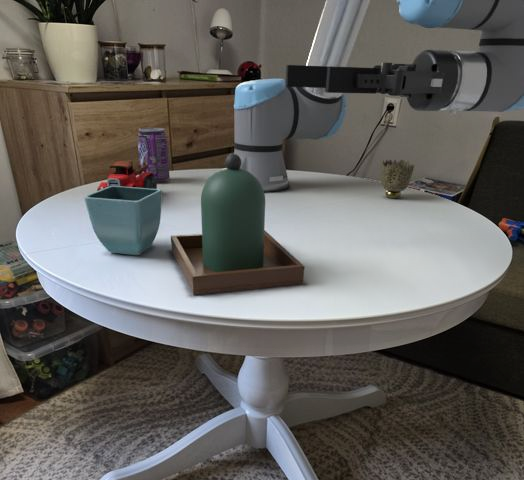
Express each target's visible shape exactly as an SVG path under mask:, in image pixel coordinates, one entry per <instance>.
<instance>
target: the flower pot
mask: <svg viewBox="0 0 524 480" xmlns="http://www.w3.org/2000/svg"><path fill="white" fill-rule="evenodd" d="M83 199H84V202H85V206H86V210H87V213H88V217H89V220H90V224H91V227H92V229H93V232H94V234H95V236H96V237H97V240H98V241H99V242H100V243H101V245H102V246H103V247H104V248H105V249H106V251H108V252H109V253H113V254H123V255H131V256H139V255H141V254H142V253H144V252H145V251H146V250H148V249H149V248H151V247H152V245H153V244H154V241H155V240H156V237H157V234H158V232H159V228H160V224H161V217H162V216H161V215H162V199H163V190H162V189H159V188H157V189H149V188H136V187H123V186H110V187H107V188H104V189H102V190H99V191H97V190H96V191H93V192H92V193H89V194H87V195H85V196H83Z"/></svg>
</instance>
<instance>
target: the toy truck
mask: <svg viewBox="0 0 524 480" xmlns="http://www.w3.org/2000/svg"><path fill="white" fill-rule="evenodd" d="M143 166H144V167H142V168H141V165H140V164H138V166H137V168H138V169H137V170H136V168H135V167H134V163H133V161H128V160H117V161H115V162H114V163H113V164H111V165H109V167H108V168H109V175H108V177H107V179H106V181H101V182H100V184H99V186H98V187H97V190H96V192H97V191H99V190H102V189H104V188H107V187H110V186H123V187H136V188H149V189H158V188H157V187H158V183H157V182H156V178H155V176H154V174H153V173H152V172H146V169H148V165H146V162H143ZM111 169H115V172H113V173H112V170H111ZM143 171H144V172H143ZM142 172H143V173H142ZM141 173H142V174H141Z"/></svg>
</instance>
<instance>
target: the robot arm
mask: <svg viewBox="0 0 524 480" xmlns="http://www.w3.org/2000/svg"><path fill="white" fill-rule="evenodd" d="M370 3H371V0H325V3H324V6H323V9H322V12H321V15H320V19H319V22H318V25H317V29H316V32H315V35H314V39H313V41H312V46H311V49H310V52H309V55H308V59H307V61H306V65H301V64H299V65H298V64H286V67H285V68H286V69H285V79H284V78H267V79H266V78H262V79H255V80H249V81H244V82H241V83H239V84H238V85H237V86H236V87H235V90H234V102H233V103H234V104H233V109H234V112H233V114H234V116H233V117H234V118H233V119H234V120H233V121H234V122H233V123H234V126H233V127H234V128H233V129H234V149H233V150H234V152H233V154H236V155H238V156H239V157H240V159H241V167H240V168H241V169H244V170H246V171H248V172H250V173H251V174H252V175H254V176H255V177H256V178H257V180H258V181H259V182H260V184H261V186H262V188H263V191H264V193H265V192H278V191H283V190H285V189H286V188H288V186H289V175H288V172H287V168H286V164H285V160H284V155H283V144H284V143H283V142H284V140H310V139H311V140H321V139H328V138H330V137H333V136H334V134H336V133H337V132H338V131H339V130H340V128H341V126H342V125H343V123H344V120H345V116H346V113H347V110H346V107H347V98H346V94H372V95H373V94H375V95H376V94H380V95H386V94H387V95H389V96H391V97H400V98H406V100H407V103H408V105H409V106H410V108H412V110H414V111H417V112H418V111H419V112H437V111H449V115H450V116H456V115H458V114H457V113H458V111H459V112H491V113H492V112H494V113H495V112H497V113H504V112H508V111H509V112H511V111H512V112H513V111H520V110H523V109H524V0H396V4H397V5H398V8H399V11H398V12H399V15H400V17H401V18H402V19H403V20H404V22H407V23H408V24H411V25H417V26H420V27H422V28H425V29H436V28H439V29H456V30H457V29H458V30H471V31H472V30H473V31H481V32H480V39H479V42H478V51H475V50H474V51H473V50H453V49H451V50H450V51H449V50H447V49H445V50H443V49H425V50H422V51H421V52H419V53H418V54H417V55H416V56H415V57H414V58H413V60H412V62H411V63H394V64H393V62H382V63H381V64H379V65H377V64H376V65H374V66H373V67H359V66H358V67H357V66H356V67H355V66H347V65H348V62H349V60H350V57H351V54H352V52H353V49H354V46H355V43H356V41H357V39H358V35H359V32H360V30H361V28H362V24H363V22H364V19H365V17H366V13H367V11H368V8H369V6H370Z"/></svg>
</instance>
